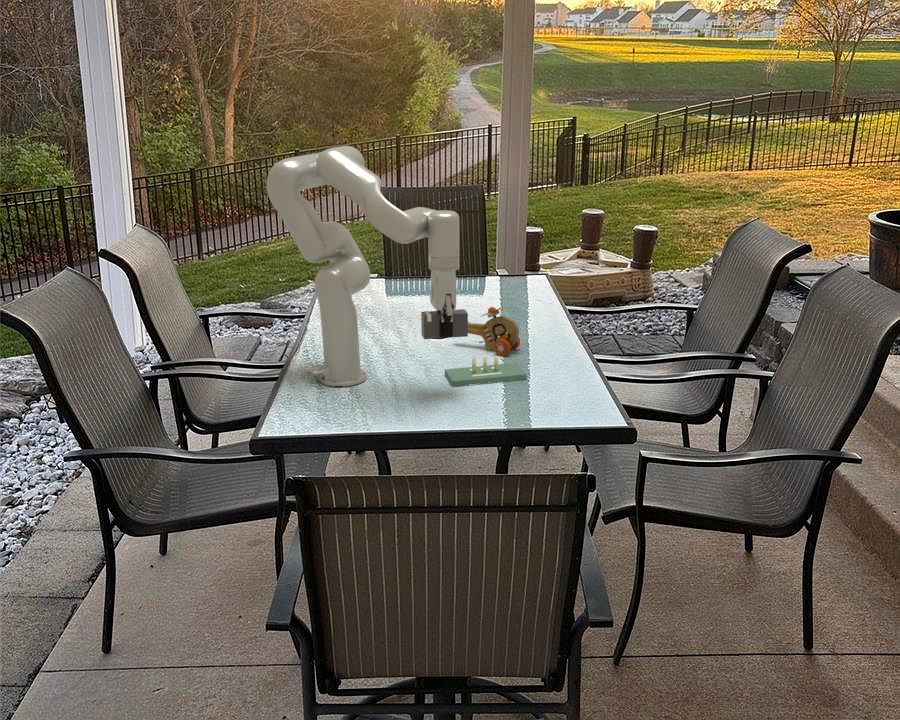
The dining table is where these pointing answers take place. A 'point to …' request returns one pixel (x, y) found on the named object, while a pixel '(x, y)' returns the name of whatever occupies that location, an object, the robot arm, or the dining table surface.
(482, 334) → the toy helicopter
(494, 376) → the header board
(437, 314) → the block
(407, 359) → the dining table surface
